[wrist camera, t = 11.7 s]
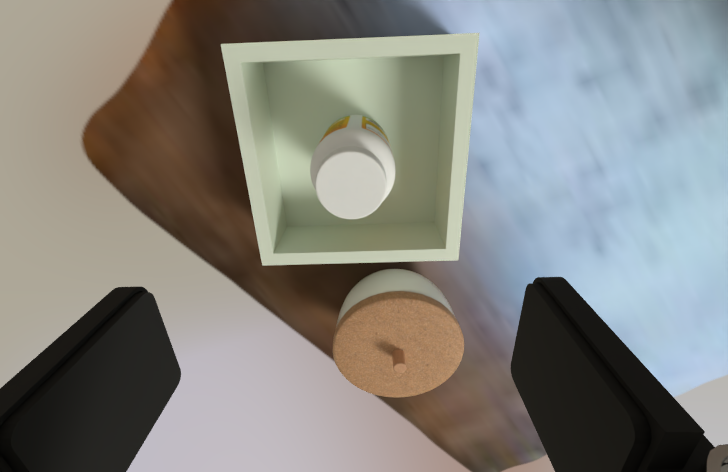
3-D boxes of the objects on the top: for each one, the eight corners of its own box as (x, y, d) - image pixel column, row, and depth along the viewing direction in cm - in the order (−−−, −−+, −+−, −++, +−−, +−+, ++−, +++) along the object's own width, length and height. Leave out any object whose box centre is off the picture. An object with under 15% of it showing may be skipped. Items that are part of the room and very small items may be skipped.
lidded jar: (399, 352, 39) (408, 432, 30) (318, 304, 36) (303, 377, 28) (468, 287, 35) (499, 358, 27) (383, 228, 32) (388, 286, 24)
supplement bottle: (322, 180, 29) (302, 229, 20) (322, 112, 27) (299, 134, 18) (387, 183, 29) (395, 233, 21) (392, 115, 27) (404, 140, 18)
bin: (455, 39, 26) (479, 33, 20) (442, 227, 32) (458, 260, 27) (251, 48, 26) (220, 44, 21) (279, 232, 32) (262, 265, 27)
